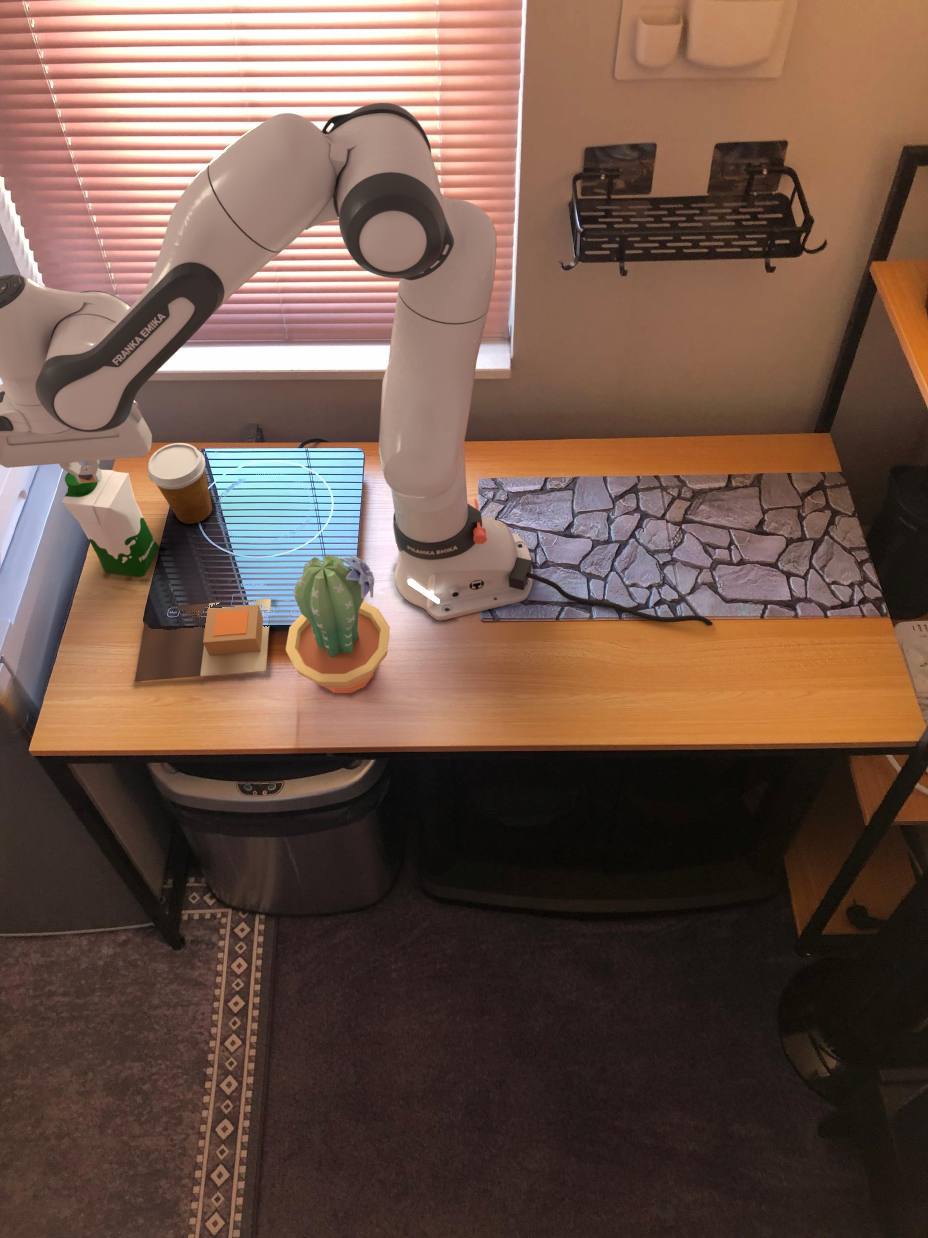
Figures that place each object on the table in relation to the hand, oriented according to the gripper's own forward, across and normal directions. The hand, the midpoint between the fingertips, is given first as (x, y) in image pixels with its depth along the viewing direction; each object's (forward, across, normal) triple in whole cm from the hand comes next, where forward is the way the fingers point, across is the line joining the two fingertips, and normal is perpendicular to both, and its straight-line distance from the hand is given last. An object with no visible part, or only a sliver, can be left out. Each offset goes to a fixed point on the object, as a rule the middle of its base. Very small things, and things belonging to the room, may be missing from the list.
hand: (90, 479), depth 130 cm
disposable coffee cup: (+29, -4, -21) cm, 36 cm away
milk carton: (+29, +5, -10) cm, 31 cm away
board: (+29, -9, +8) cm, 31 cm away
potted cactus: (+29, -31, +15) cm, 45 cm away
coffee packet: (+28, -14, +8) cm, 32 cm away
